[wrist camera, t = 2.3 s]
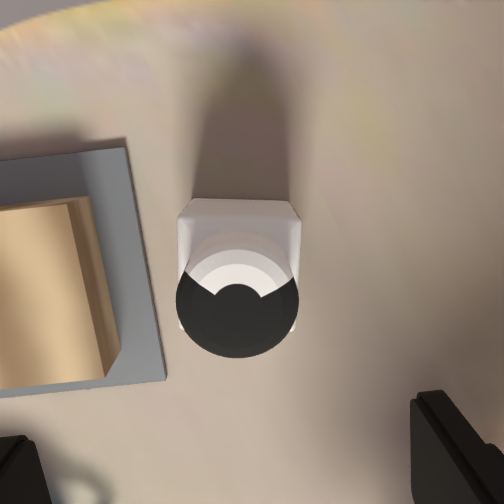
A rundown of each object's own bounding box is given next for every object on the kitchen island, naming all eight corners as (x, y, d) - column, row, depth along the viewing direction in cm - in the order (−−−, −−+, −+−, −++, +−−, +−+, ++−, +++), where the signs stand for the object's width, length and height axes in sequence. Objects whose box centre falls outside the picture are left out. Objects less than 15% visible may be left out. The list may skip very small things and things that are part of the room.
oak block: (89, 195, 30) (66, 204, 26) (121, 350, 33) (104, 378, 29) (-80, 214, 30) (-127, 225, 26) (-33, 366, 33) (-69, 396, 30)
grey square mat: (126, 147, 30) (123, 147, 29) (167, 376, 35) (165, 380, 34) (-129, 175, 30) (-137, 176, 30) (-55, 400, 35) (-60, 404, 34)
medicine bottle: (284, 293, 33) (307, 377, 21) (191, 291, 33) (162, 374, 21) (290, 200, 31) (317, 237, 20) (191, 197, 31) (159, 232, 19)
